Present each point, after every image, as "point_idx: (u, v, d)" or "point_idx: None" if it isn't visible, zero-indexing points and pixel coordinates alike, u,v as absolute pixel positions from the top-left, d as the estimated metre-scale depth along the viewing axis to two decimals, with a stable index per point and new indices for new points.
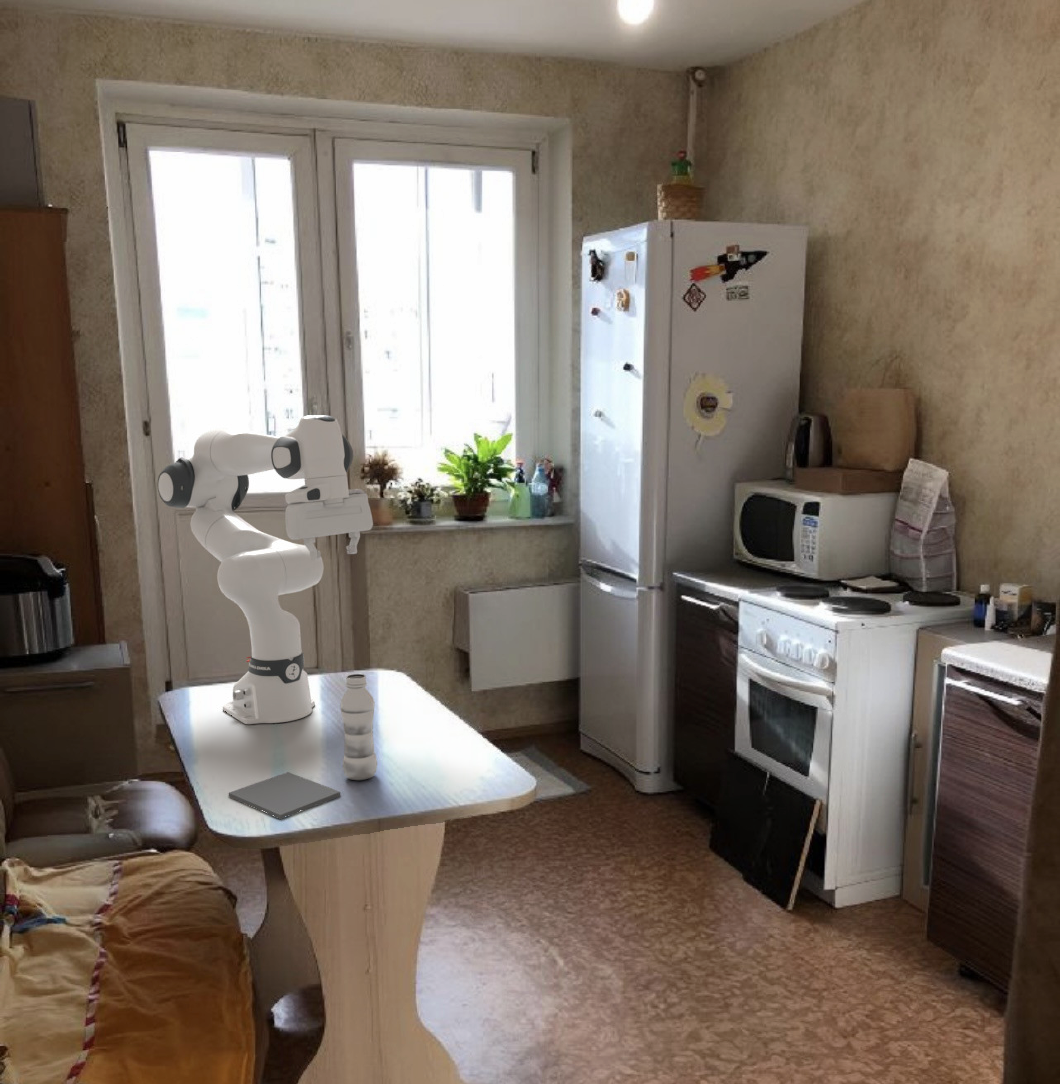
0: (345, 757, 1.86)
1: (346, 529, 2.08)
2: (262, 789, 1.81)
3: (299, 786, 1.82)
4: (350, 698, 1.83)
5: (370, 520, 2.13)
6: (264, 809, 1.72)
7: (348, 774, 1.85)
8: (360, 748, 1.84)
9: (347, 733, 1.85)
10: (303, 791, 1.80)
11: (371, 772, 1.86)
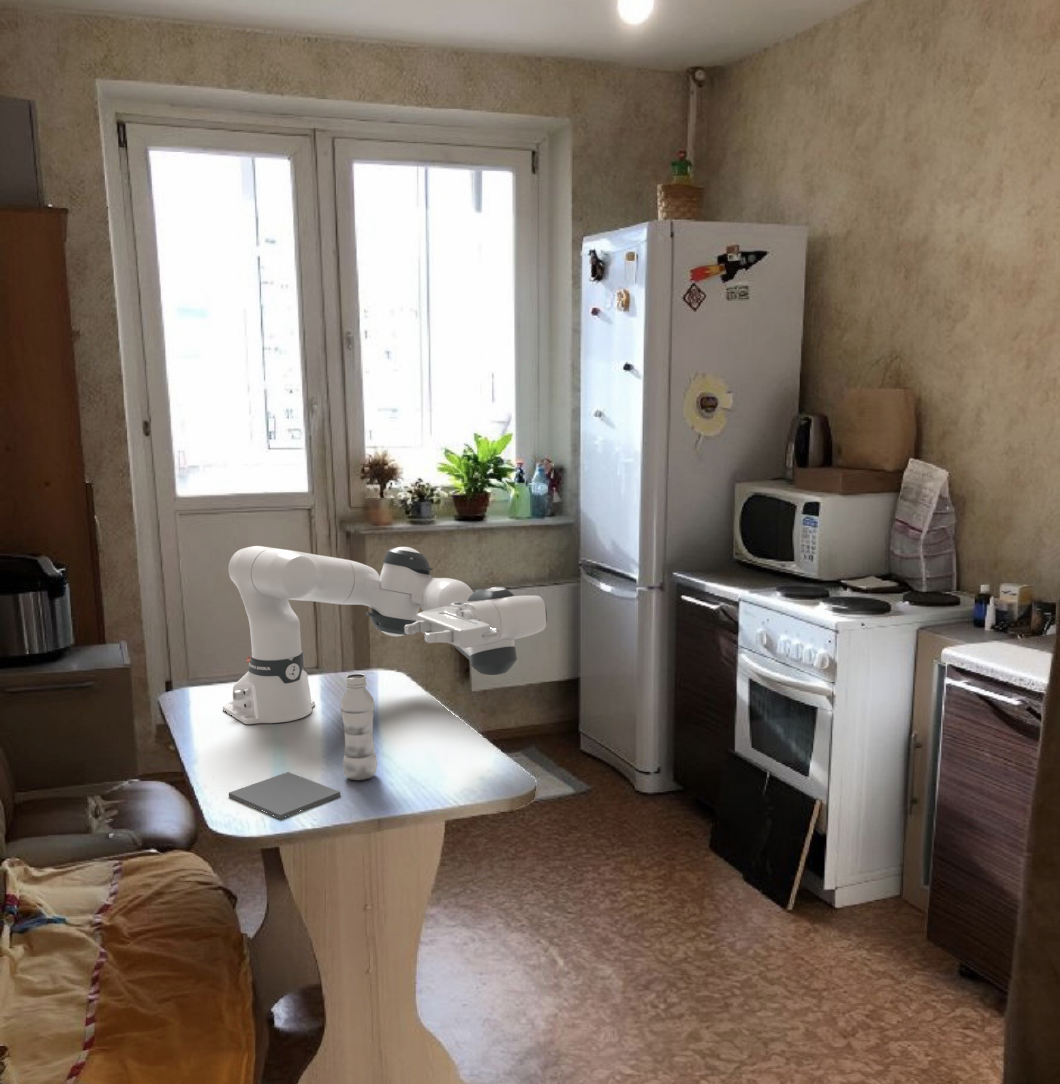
0: (345, 757, 1.86)
1: (446, 623, 1.92)
2: (262, 789, 1.81)
3: (299, 786, 1.82)
4: (350, 698, 1.83)
5: (468, 628, 1.87)
6: (264, 809, 1.72)
7: (348, 774, 1.85)
8: (360, 748, 1.84)
9: (347, 733, 1.85)
10: (303, 791, 1.80)
11: (371, 772, 1.86)
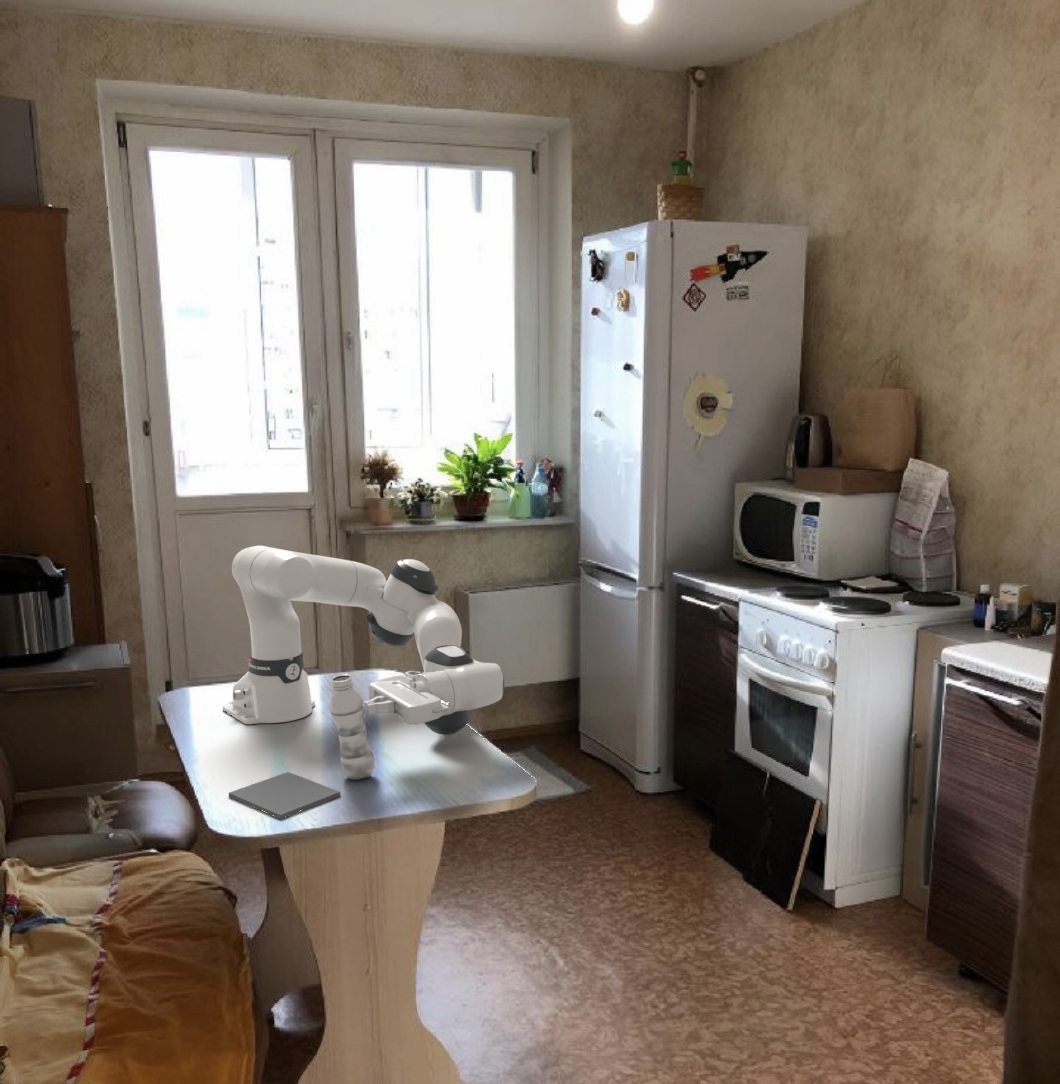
0: (342, 758, 1.85)
1: (396, 697, 1.86)
2: (262, 789, 1.81)
3: (299, 786, 1.82)
4: (338, 701, 1.82)
5: (418, 704, 1.81)
6: (264, 809, 1.72)
7: (347, 775, 1.85)
8: (355, 749, 1.84)
9: (340, 735, 1.84)
10: (303, 791, 1.80)
11: (370, 770, 1.85)
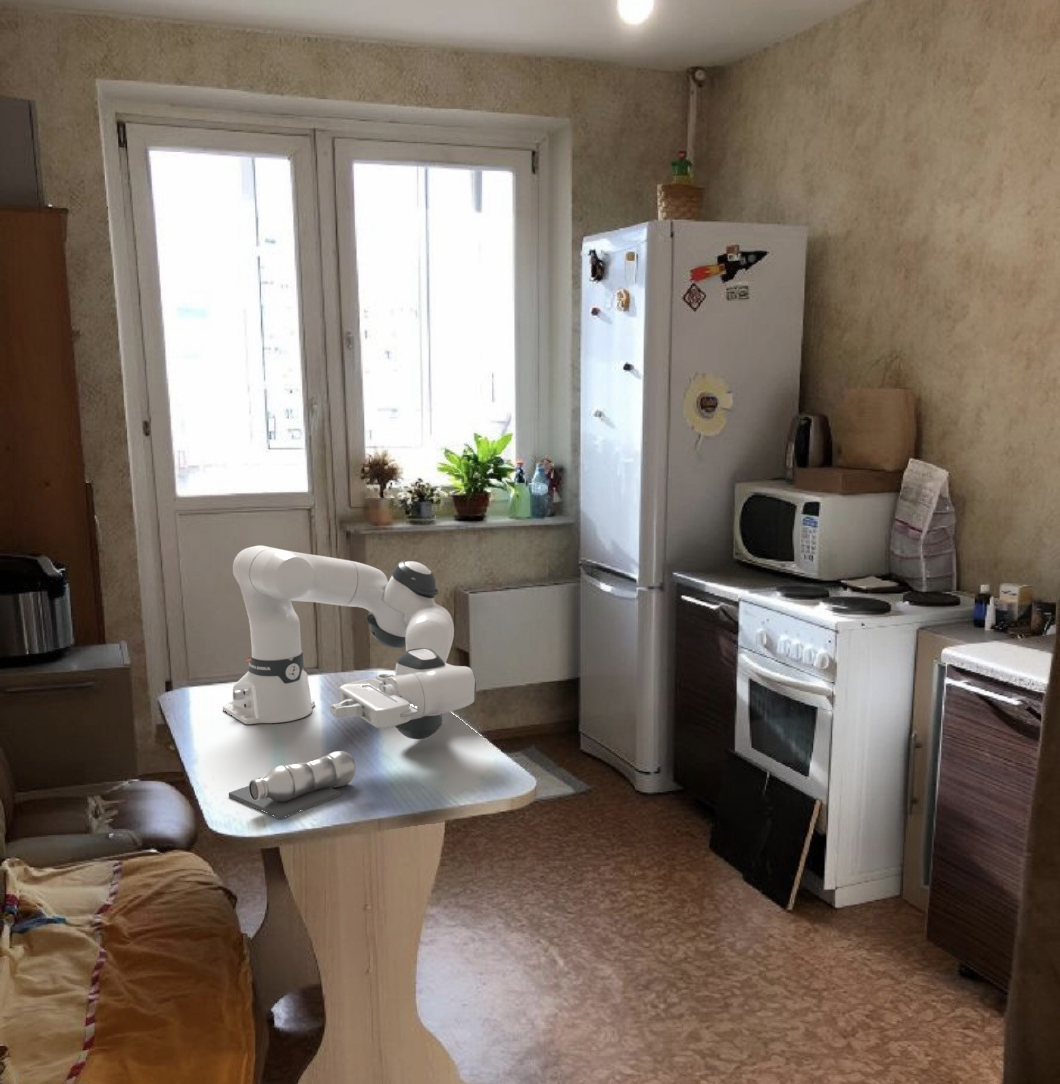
0: None
1: (365, 700, 1.84)
2: None
3: None
4: (273, 799, 1.74)
5: (385, 707, 1.79)
6: (264, 809, 1.72)
7: None
8: (324, 787, 1.80)
9: None
10: None
11: (351, 776, 1.82)
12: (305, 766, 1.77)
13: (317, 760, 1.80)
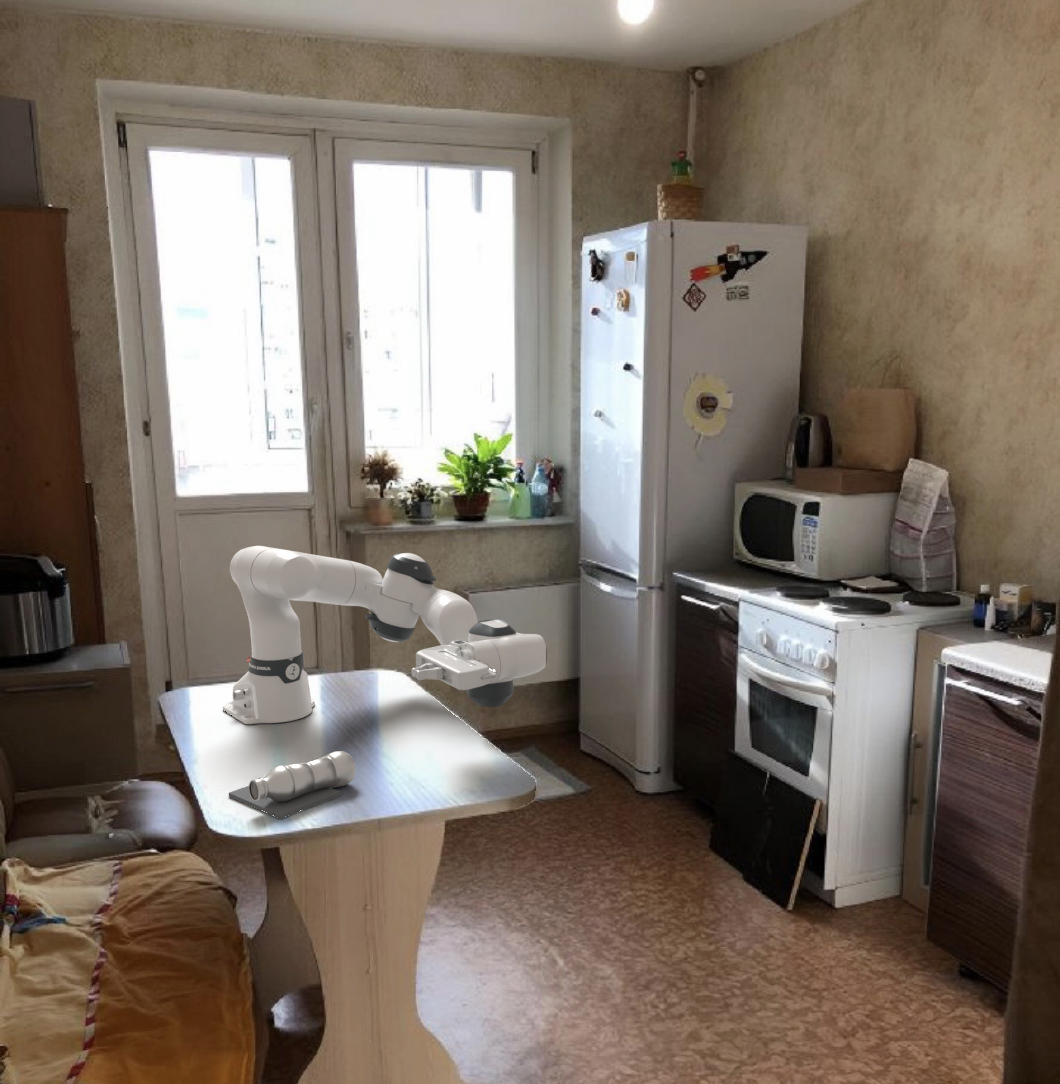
0: None
1: (445, 663, 1.92)
2: None
3: None
4: (273, 799, 1.74)
5: (467, 670, 1.87)
6: (264, 809, 1.72)
7: None
8: (324, 787, 1.80)
9: None
10: None
11: (351, 776, 1.82)
12: (305, 766, 1.77)
13: (317, 760, 1.80)
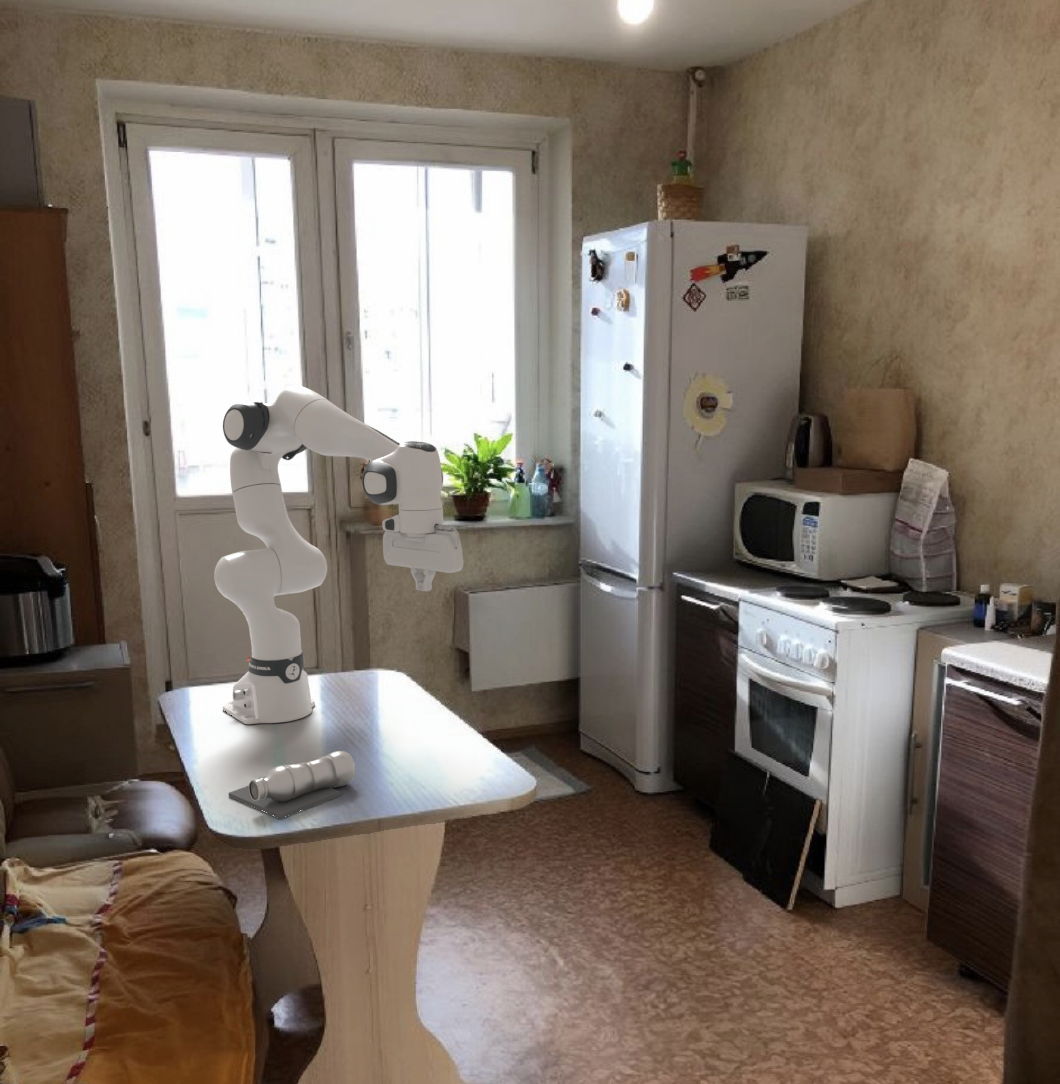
0: None
1: (424, 566, 1.96)
2: None
3: None
4: (273, 799, 1.74)
5: (448, 562, 1.91)
6: (264, 809, 1.72)
7: None
8: (324, 787, 1.80)
9: None
10: None
11: (351, 776, 1.82)
12: (305, 766, 1.77)
13: (317, 760, 1.80)
